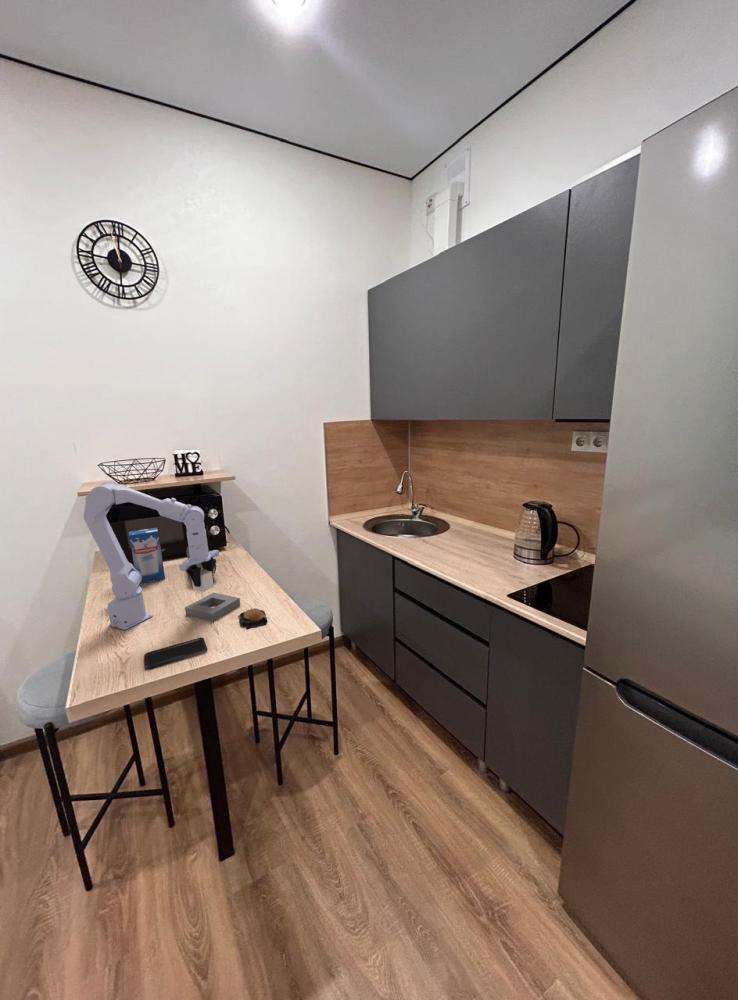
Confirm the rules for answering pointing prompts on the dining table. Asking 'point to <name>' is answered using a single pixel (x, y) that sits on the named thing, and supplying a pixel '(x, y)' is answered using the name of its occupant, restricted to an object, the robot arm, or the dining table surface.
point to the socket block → (211, 614)
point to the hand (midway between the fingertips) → (203, 583)
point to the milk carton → (147, 554)
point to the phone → (174, 653)
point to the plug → (204, 581)
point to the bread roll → (252, 618)
